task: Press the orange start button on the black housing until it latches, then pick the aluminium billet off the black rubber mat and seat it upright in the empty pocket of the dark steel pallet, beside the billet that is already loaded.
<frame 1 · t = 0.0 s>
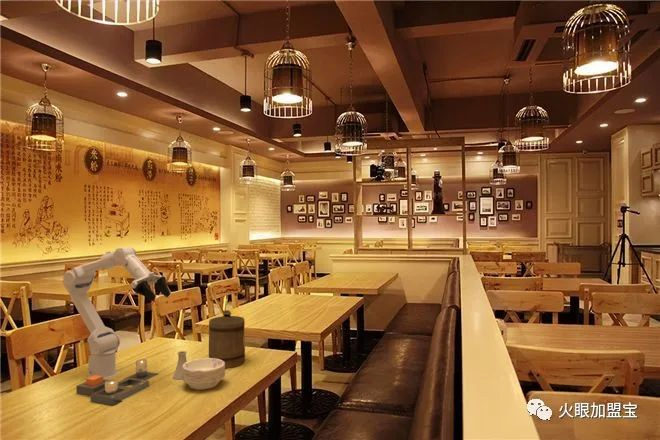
hand: (161, 297, 165), 32 cm above the table, tool tilted 50°, fingers open, 7 cm apart
button housing: (94, 391, 160), on the table
flask: (182, 378, 172), on the table
start button: (94, 381, 160), point 4 cm above the table, slide at 0.0 cm
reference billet: (111, 399, 153), resting in pallet
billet: (141, 376, 173), point 1 cm above the table, touching rubber mat
rubber mat: (141, 377, 173), on the table
paper bowls: (203, 385, 165), on the table
wooden container: (227, 363, 190), on the table
pallet: (120, 394, 157), on the table
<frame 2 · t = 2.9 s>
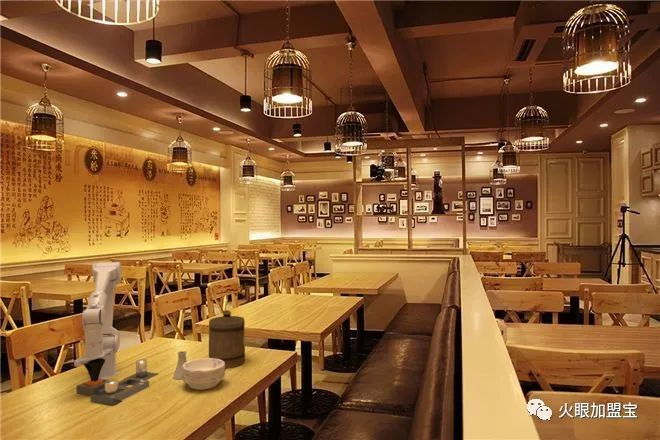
hand: (94, 380, 160), 4 cm above the table, tool pointing down, fingers closed, pressing on start button
start button: (94, 384, 160), point 2 cm above the table, slide at 1.0 cm, touching gripper
everything else where it was.
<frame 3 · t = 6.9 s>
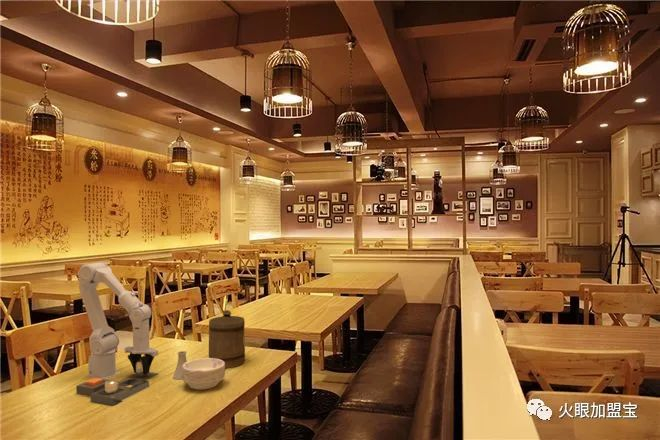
hand: (141, 372, 173), 2 cm above the table, tool pointing down, fingers closed on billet, 4 cm apart
start button: (94, 384, 160), point 2 cm above the table, slide at 1.0 cm
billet: (141, 376, 173), point 1 cm above the table, touching gripper, rubber mat
everything else where it was.
when the fingers open (3 cm above the table, at t = 10.4 s): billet drops 2 cm, resting in pallet.
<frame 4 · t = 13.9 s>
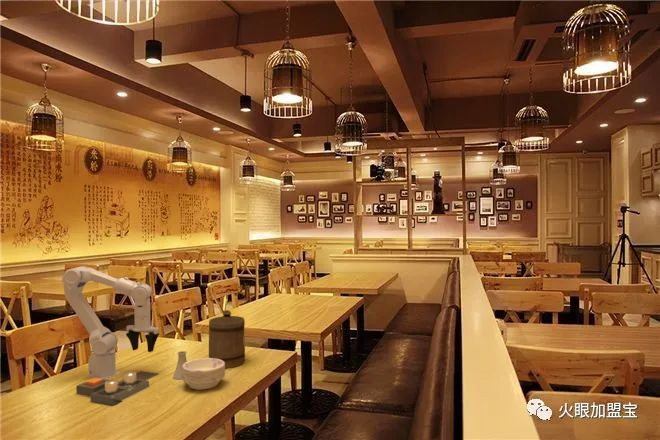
hand: (143, 350, 176), 9 cm above the table, tool pointing down, fingers open, 7 cm apart
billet: (130, 389, 161), resting in pallet
everything else where it was.
at the end: start button slide at 1.0 cm; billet 0.3 cm from the target spot on the pallet, point 0.0 cm above the pallet's base; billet tilted 1° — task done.
